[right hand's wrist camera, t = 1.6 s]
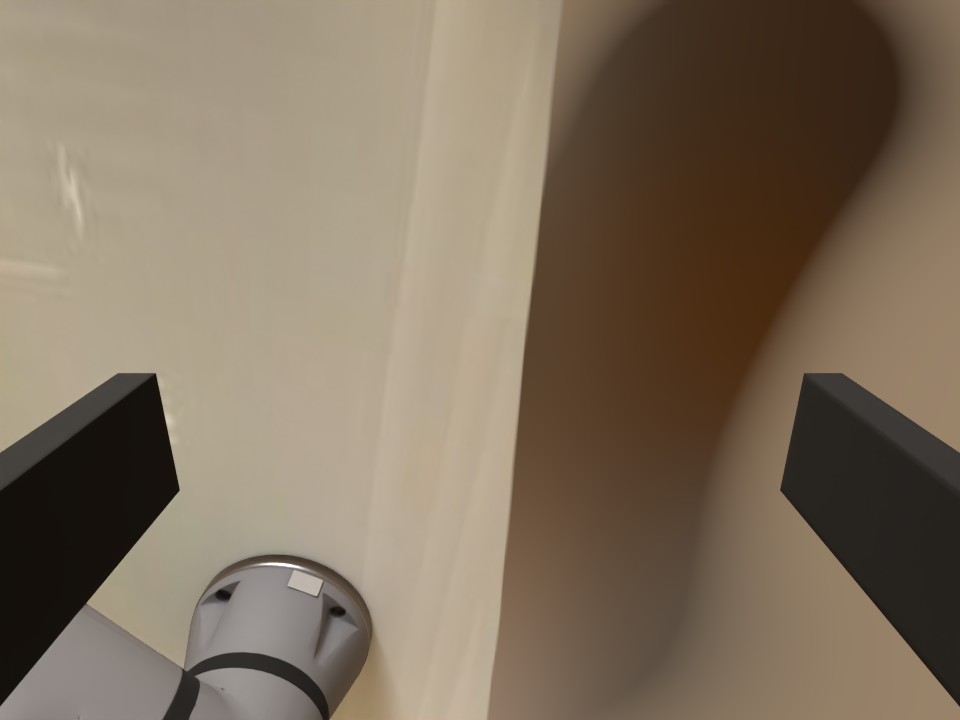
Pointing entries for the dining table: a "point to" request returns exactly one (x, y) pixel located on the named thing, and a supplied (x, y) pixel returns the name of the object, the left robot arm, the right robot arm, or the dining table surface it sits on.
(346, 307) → the dining table surface
